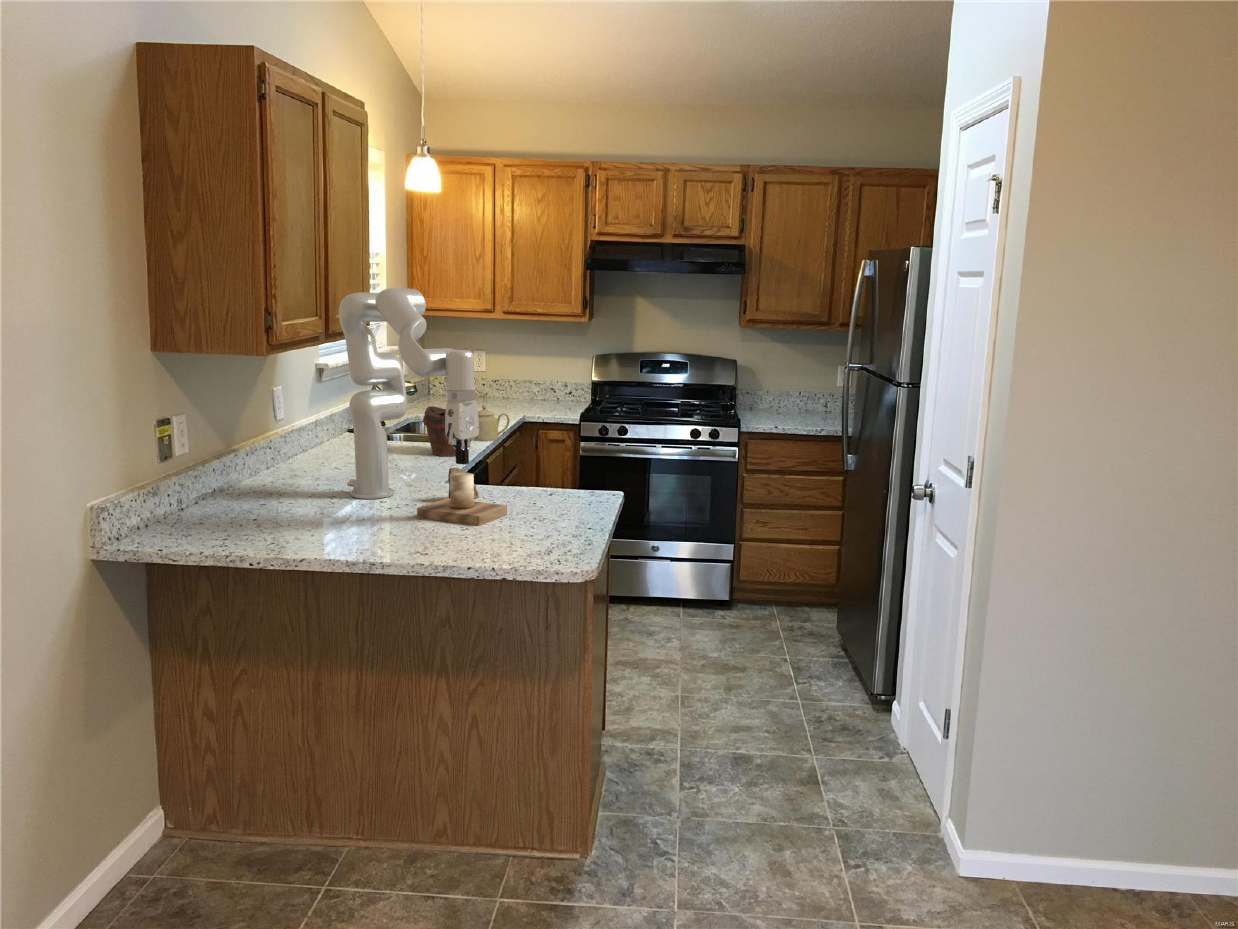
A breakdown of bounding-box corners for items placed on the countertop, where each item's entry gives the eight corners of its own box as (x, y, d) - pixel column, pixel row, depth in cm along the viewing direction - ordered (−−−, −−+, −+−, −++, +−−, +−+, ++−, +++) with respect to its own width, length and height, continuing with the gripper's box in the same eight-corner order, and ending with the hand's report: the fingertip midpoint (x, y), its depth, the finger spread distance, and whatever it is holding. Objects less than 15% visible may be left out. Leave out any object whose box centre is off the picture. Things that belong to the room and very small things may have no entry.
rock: (476, 487, 284) (444, 484, 281) (483, 468, 279) (449, 465, 275) (479, 514, 277) (446, 512, 274) (486, 495, 271) (452, 492, 268)
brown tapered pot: (479, 456, 349) (478, 408, 346) (425, 459, 344) (423, 410, 341) (474, 449, 366) (473, 404, 363) (422, 451, 361) (420, 405, 358)
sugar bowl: (497, 435, 401) (497, 401, 398) (511, 439, 392) (510, 403, 390) (466, 438, 392) (466, 403, 390) (479, 442, 384) (479, 405, 381)
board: (417, 517, 255) (417, 508, 254) (447, 507, 267) (446, 498, 267) (479, 525, 247) (479, 516, 246) (507, 514, 259) (507, 505, 259)
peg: (446, 517, 256) (445, 475, 253) (459, 512, 261) (458, 472, 259) (465, 519, 253) (464, 478, 251) (478, 514, 259) (478, 474, 257)
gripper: (456, 399, 243) (458, 469, 246) (487, 394, 256) (489, 460, 259) (432, 398, 246) (434, 467, 249) (464, 393, 259) (466, 458, 262)
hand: (462, 463), depth 254 cm, fingers closed
